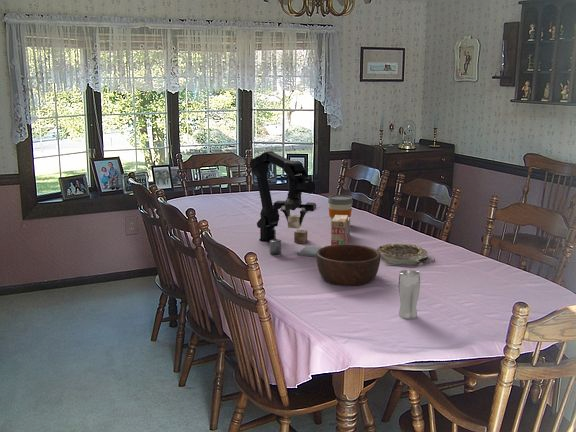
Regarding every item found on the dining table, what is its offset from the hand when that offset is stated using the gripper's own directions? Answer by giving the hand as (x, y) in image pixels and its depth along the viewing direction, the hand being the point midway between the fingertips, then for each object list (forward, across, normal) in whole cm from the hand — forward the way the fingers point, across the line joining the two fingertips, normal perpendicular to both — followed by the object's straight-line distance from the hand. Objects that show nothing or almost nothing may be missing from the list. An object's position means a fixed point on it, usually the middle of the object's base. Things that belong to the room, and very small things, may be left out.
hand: (294, 224), depth 282 cm
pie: (+12, +48, 0) cm, 50 cm away
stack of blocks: (+12, +17, +19) cm, 28 cm away
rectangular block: (+11, -1, +12) cm, 17 cm away
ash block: (+1, 0, 0) cm, 1 cm away
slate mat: (+11, +10, -4) cm, 16 cm away
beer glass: (+12, +58, -65) cm, 88 cm away
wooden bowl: (+12, +31, -33) cm, 47 cm away
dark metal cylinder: (+11, -6, -11) cm, 16 cm away
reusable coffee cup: (+11, +10, +47) cm, 50 cm away
